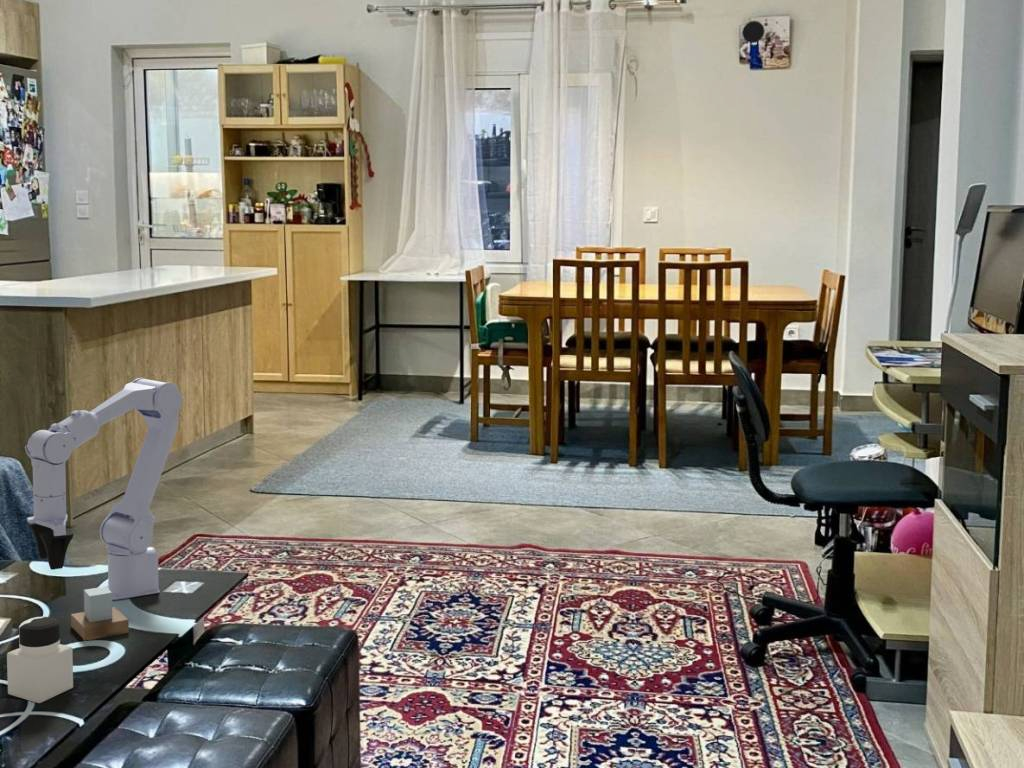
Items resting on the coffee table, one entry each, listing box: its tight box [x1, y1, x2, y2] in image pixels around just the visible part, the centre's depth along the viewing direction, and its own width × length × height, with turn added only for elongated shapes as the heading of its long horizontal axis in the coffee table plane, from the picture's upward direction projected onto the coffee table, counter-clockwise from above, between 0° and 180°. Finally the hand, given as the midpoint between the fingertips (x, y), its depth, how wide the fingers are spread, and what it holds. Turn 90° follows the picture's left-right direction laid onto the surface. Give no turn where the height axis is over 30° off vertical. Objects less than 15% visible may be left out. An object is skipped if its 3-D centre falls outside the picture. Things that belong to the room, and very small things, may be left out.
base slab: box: [70, 606, 130, 642], centre depth 207 cm, size 8×8×3 cm
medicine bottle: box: [6, 616, 74, 704], centre depth 180 cm, size 7×7×12 cm
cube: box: [83, 585, 113, 622], centre depth 206 cm, size 4×4×5 cm
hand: (51, 562), depth 212 cm, fingers open, 7 cm apart
